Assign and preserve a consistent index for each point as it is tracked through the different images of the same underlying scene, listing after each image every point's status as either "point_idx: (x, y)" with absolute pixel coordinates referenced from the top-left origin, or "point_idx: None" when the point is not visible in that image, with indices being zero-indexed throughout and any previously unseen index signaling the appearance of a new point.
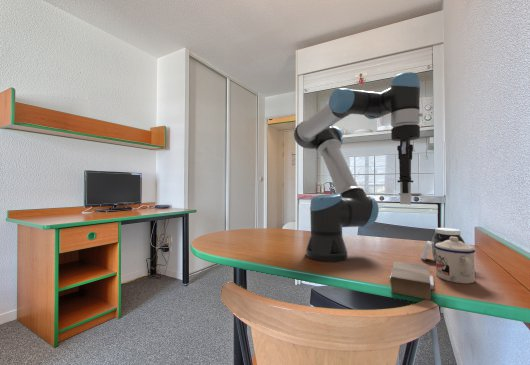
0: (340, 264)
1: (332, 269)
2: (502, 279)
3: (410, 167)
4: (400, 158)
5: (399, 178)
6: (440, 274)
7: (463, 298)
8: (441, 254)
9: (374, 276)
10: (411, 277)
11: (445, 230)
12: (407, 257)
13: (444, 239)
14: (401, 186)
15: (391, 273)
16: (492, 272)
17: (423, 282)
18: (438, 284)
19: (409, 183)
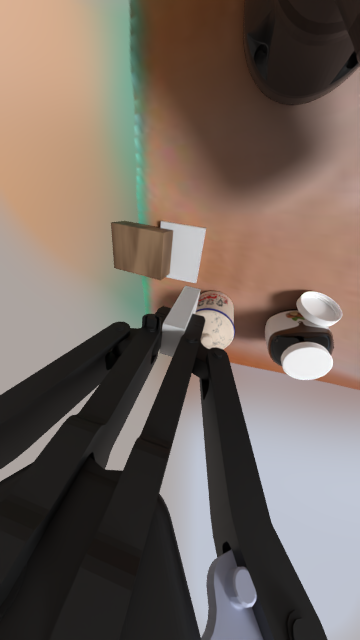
0: (230, 98)
1: (183, 86)
2: (227, 353)
3: (204, 434)
4: (7, 397)
5: (118, 324)
6: (203, 294)
7: (148, 295)
8: (196, 308)
9: (176, 195)
10: (119, 249)
11: (287, 355)
12: (327, 268)
13: (278, 341)
14: (167, 318)
15: (183, 225)
16: (254, 356)
17: (114, 261)
18: (180, 283)
19: (160, 347)
